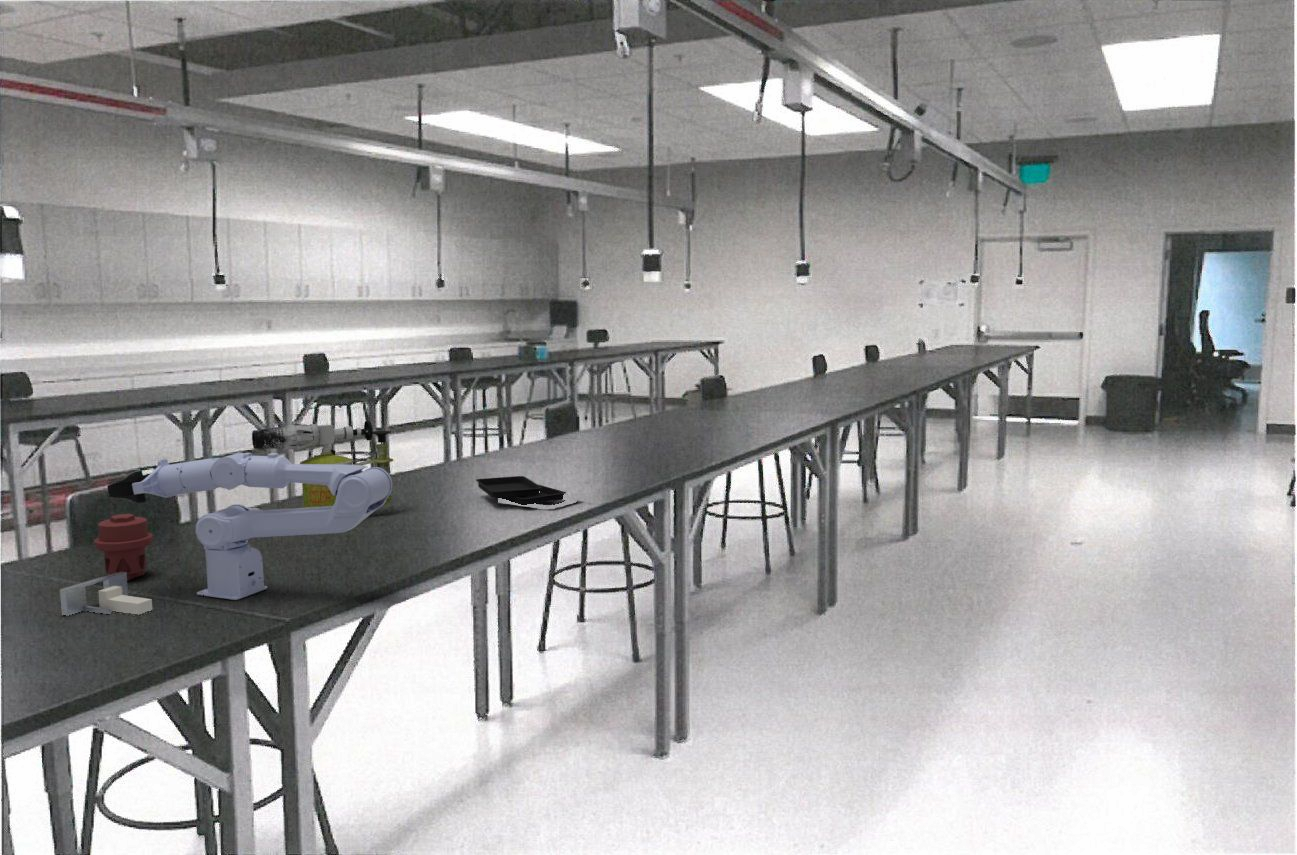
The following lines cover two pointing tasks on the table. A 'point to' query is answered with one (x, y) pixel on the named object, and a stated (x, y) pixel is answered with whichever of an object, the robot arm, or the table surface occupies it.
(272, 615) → the table surface
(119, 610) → the cream l-shaped block
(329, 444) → the blowtorch
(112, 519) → the mechanical component
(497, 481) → the tray
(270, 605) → the table surface
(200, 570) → the table surface
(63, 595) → the housing
